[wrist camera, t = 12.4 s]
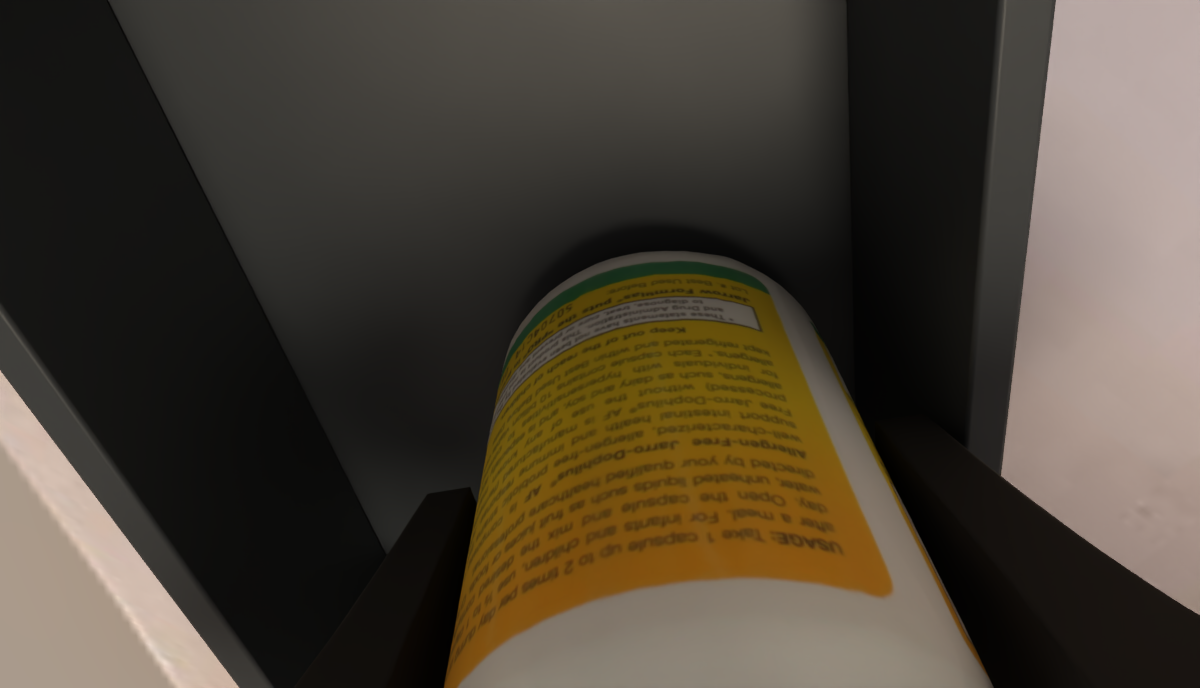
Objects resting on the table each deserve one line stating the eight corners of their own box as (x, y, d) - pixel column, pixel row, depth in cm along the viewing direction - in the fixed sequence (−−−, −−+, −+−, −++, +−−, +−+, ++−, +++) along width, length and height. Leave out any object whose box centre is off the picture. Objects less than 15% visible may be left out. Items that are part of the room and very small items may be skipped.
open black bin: (872, 482, 16) (976, 700, 12) (379, 558, 17) (311, 786, 13) (868, -296, 9) (1110, -435, 5) (45, -95, 10) (-336, -68, 6)
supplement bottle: (885, 365, 13) (1422, 1254, 5) (667, 540, 15) (766, 1360, 7) (647, 163, 11) (842, 1079, 3) (436, 398, 13) (178, 1307, 5)
